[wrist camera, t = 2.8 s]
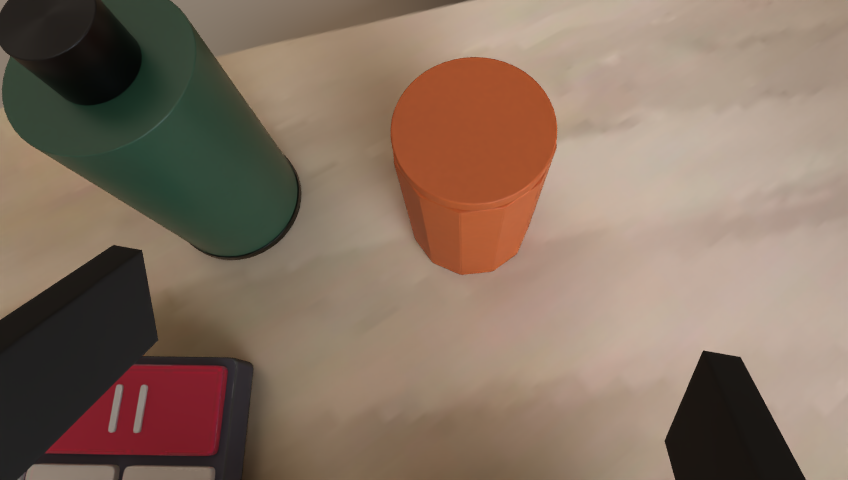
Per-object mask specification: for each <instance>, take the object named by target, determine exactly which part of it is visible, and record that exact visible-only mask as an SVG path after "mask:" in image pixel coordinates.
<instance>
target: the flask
mask: <svg viewBox="0 0 848 480" xmlns="http://www.w3.org/2000/svg"><path fill="white" fill-rule="evenodd" d="M0 46H1V47H2V48H3V50H4V51H5V52H6V53H7V54H9V55H10V59H9V61H8V64H7V67H6V70H5V73H4V78H3V85H2V99H3V105H4V110H5V113H6V115H7V118H8V120H9V122H10V123H11V125H12V127H13V128H14V130H15V131H16V132H17V133H18V134H19V136H20V137H21V138H22V139H24V140H25V141H26V142H27V143H29V144H30V145H31V146H33V147H35V148H36V149H38V150H40V151H41V152H43V153H44V154H46V155H48V156H49V157H51V158H53V159H54V160H56V161H57V162H59V163H61V164H62V165H64V166H66V167H67V168H69V169H70V170H72V171H74V172H75V173H77V174H79V175H80V176H82V177H84V178H85V179H87V180H88V181H90V182H92V183H93V184H95V185H97V186H98V187H100V188H101V189H103V190H105V191H106V192H108V193H110V194H111V195H113V196H114V197H116V198H118V199H119V200H121V201H123V202H124V203H126V204H127V205H129V206H131V207H132V208H134V209H136V210H137V211H139V212H140V213H142V214H144V215H145V216H147V217H149V218H150V219H152V220H153V221H155V222H157V223H158V224H160V225H162V226H163V227H165V228H166V229H168V230H170V231H171V232H173V233H175V234H176V235H178V236H179V237H181V238H183V239H184V240H186V241H188V242H189V243H190V244H191V245H192V246H194V247H195V248H196V249H198V250H199V251H201V252H203V253H205V254H206V255H209V256H211V257H214V258H218V259H223V260H240V259H246V258H250V257H253V256H256V255H258V254H260V253H263V252H264V251H266V250H268V249H270V248H271V247H272V246H274V245H275V244H276V243H278V242H279V241H280V240H281V239H282V238H283V237H284V236H285V234H286V233H287V232H288V231H289V229H290V228H291V226H292V225H293V223H294V221H295V219H296V217H297V214H298V211H299V208H300V202H301V185H300V181H299V177H298V175H297V172H296V170H295V169H294V167H293V165H292V164H291V162H290V161H289V160H288V159H287V158H286V156H285V155H283V154H282V152H281V151H280V149H279V148H278V147H277V145H276V144H275V142H274V141H273V139H272V138H271V137H270V135H269V134H268V132H267V131H266V129H265V128H264V127H263V125H262V124H261V122H260V121H259V119H258V118H257V117H256V115H255V114H254V112H253V111H252V109H251V108H250V107H249V105H248V104H247V102H246V101H245V100H244V98H243V97H242V95H241V94H240V92H239V91H238V90H237V88H236V87H235V85H234V84H233V82H232V81H231V80H230V78H229V77H228V75H227V74H226V72H225V71H224V70H223V68H222V67H221V65H220V64H219V62H218V61H217V60H216V58H215V57H214V55H213V54H212V53H211V52H210V50H209V48H208V47H207V45H206V44H205V43H204V41H203V40H202V38H201V37H200V35H199V34H198V33H197V31H196V30H195V28H194V27H193V25H192V24H191V23H190V21H189V20H188V18H187V17H186V16H185V14H184V13H183V12H182V11H181V10H180V8H178V7H177V6H176V5H175V4H174V3H173V2H171V1H170V0H8V1H7V3H6V4H5V5H4V7H3V8H2V10H1V12H0Z"/></svg>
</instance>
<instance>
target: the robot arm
mask: <svg viewBox="0 0 848 480" xmlns="http://www.w3.org/2000/svg"><path fill="white" fill-rule="evenodd" d="M157 341H158V336H157V330H156V325H155V319H154V314H153V308H152V303H151V297H150V292H149V286H148V281H147V275H146V269H145V264H144V258H143V253H142V250H138V249H132V248H127V247H121V246H116V245H113V246H111V247H110V248H108V249H107V250H105V251H104V252H102V253H101V254H99V255H98V256H96V257H95V258H93V259H92V260H90V261H89V262H87V263H86V264H84V265H83V266H81V267H80V268H78V269H77V270H75V271H74V272H72V273H70V274H69V275H67V276H66V277H64V278H63V279H61V280H60V281H58V282H57V283H55V284H54V285H52V286H51V287H49V288H48V289H46V290H45V291H43V292H42V293H40V294H39V295H37V296H36V297H34V298H33V299H31V300H30V301H28V302H27V303H25V304H24V305H22V306H21V307H19V308H18V309H16V310H15V311H13V312H12V313H10V314H9V315H7V316H6V317H4V318H3V319H1V320H0V480H18V479H19V478H20V477H21V476H22V475H23V474H24V473H25V472H26V471H27V470H28V469H29V468H30V467H31V466H32V465H33V464H34V463H35V462H36V461H37V460H38V459H39V458H40V457H41V456H42V455H43V454H44V453H45V452H46V451H47V450H48V449H49V448H50V447H51V446H52V445H53V444H54V443H55V442H56V441H57V440H58V439H59V438H60V437H61V436H62V435H63V434H64V433H65V432H66V431H67V430H68V429H69V428H70V427H71V426H72V425H73V424H74V423H75V422H76V421H77V420H78V419H79V418H80V417H81V416H82V415H83V414H84V413H85V412H86V411H87V410H88V409H89V408H90V407H91V406H92V405H93V404H94V403H95V402H96V401H97V400H98V399H99V398H100V397H101V396H102V395H103V394H104V393H105V392H106V391H107V390H108V389H109V388H110V387H111V386H112V385H113V384H114V383H115V382H116V381H117V380H118V379H119V378H120V377H121V376H122V375H123V374H124V373H125V372H126V371H127V370H128V369H129V368H130V367H131V366H133V365H134V364H135V363H136V362H137V361H138V360H139V359H140V358H141V357H142V356H143V355H144V354H145V353H146V352H147V351H148V350H149V349H150V348H151V347H152V346H153V345H154V344H155V343H156V342H157ZM665 444H666V448H667V451H668V455H669V458H670V462H671V466H672V469H673V473H674V476H675V480H806V479H805V477H804V475H803V474H802V472H801V470H800V468H799V466H798V464H797V462H796V460H795V459H794V457H793V455H792V453H791V451H790V449H789V447H788V445H787V444H786V442H785V440H784V438H783V436H782V434H781V432H780V430H779V429H778V427H777V425H776V423H775V421H774V419H773V417H772V415H771V413H770V412H769V410H768V408H767V406H766V404H765V402H764V400H763V398H762V397H761V395H760V393H759V391H758V389H757V387H756V385H755V383H754V382H753V380H752V378H751V376H750V374H749V372H748V370H747V368H746V367H745V365H744V363H743V361H742V359H741V357H736V356H731V355H725V354H720V353H714V352H708V351H703V352H702V354H701V357H700V359H699V361H698V364H697V366H696V368H695V371H694V373H693V375H692V378H691V380H690V382H689V385H688V387H687V390H686V392H685V394H684V397H683V399H682V401H681V404H680V406H679V408H678V411H677V413H676V415H675V418H674V420H673V422H672V425H671V427H670V429H669V432H668V434H667V436H666V439H665Z"/></svg>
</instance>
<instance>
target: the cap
mask: <svg viewBox="0 0 848 480" xmlns="http://www.w3.org/2000/svg"><path fill="white" fill-rule="evenodd" d="M556 140H557V122H556V116H555V113H554V109H553V107H552V104H551V102H550V100H549V98H548V96H547V95H546V93H545V91H544V90H543V89H542V88H541V86H540V85H539V84H538V83H537V82H536V81H535V80H534V79H533V78H532V77H531V76H529V75H528V74H526V73H525V72H524V71H522V70H520V69H519V68H517V67H515V66H513V65H510V64H508V63H505V62H502V61H499V60H495V59H489V58H480V57H470V58H460V59H454V60H451V61H447V62H444V63H441V64H439V65H437V66H434V67H433V68H431V69H429V70H427V71H425V72H424V73H423V74H421V75H420V76H419V77H417V78H416V79H415V80H414V81H413V82H412V83H411V84H410V85H409V86H408V88H407V89H406V90H405V91H404V93H403V94H402V96H401V97H400V99H399V101H398V103H397V105H396V107H395V110H394V113H393V117H392V122H391V143H392V148H393V154H394V165H395V168H396V172H397V175H398V179H399V183H400V186H401V190H402V193H403V197H404V201H405V204H406V208H407V211H408V215H409V219H410V222H411V226H412V229H413V233H414V236H415V239H416V241H417V242H418V244H419V245H420V246H421V248H422V249H423V250H424V252H425V253H426V254H427V256H428V257H429V258H430V260H431V261H432V262H433V263H435V264H437V265H439V266H442V267H444V268H446V269H449V270H451V271H453V272H456V273H458V274H461V275H463V274H473V273H483V272H491V271H494V270H495V269H496V268H498V267H499V266H501V265H502V264H503V263H505V262H506V261H508V260H509V259H510V258H512V257H513V256H515V255H516V254H517V252H518V250H519V248H520V245H521V243H522V241H523V238H524V236H525V234H526V231H527V229H528V227H529V224H530V221H531V218H532V215H533V213H534V210H535V207H536V204H537V201H538V198H539V196H540V193H541V190H542V187H543V184H544V181H545V179H546V176H547V173H548V170H549V167H550V165H551V162H552V159H553V156H554V153H555V150H556V148H557V147H556V146H557V145H556Z"/></svg>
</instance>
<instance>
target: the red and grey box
mask: <svg viewBox="0 0 848 480" xmlns="http://www.w3.org/2000/svg"><path fill="white" fill-rule="evenodd" d="M252 377H253V365H252V364H251V363H250V362H247V361H243V360H239V359H236V358H230V357H154V356H142V357H141V358H140V359H139V360H138V361H137V362H136V363H135V364H134V365H133V366H131V367H130V368H129V369H128V370H127V371H126V372H125V373H124V374H123V375H122V376H121V377H120V378H119V379H118V380H117V381H116V382H115V383H114V384H113V385H112V386H111V387H110V388H109V389H108V390H107V391H106V392H105V393H104V394H103V395H102V396H101V397H100V398H99V399H98V400H97V401H96V402H95V403H94V404H93V405H92V406H91V407H90V408H89V409H88V410H87V411H86V412H85V413H84V414H83V415H82V416H81V417H80V418H79V419H78V420H77V421H76V422H75V423H74V424H73V425H72V426H71V427H70V428H69V429H68V430H67V431H66V432H65V433H64V434H63V435H62V436H61V437H60V438H59V439H58V440H57V441H56V442H55V443H54V444H53V445H52V446H51V447H50V448H49V449H48V450H47V451H46V452H45V453H44V454H43V455H42V456H41V457H40V458H39V459H38V460H37V461H36V462H35V463H34V464H33V465H32V466H31V467H30V468H29V469H28V470H27V471H26V472H25V473H24V474H23V475H22V476H21V477H20V478H19V479H18V480H241V478H242V469H243V460H244V451H245V442H246V432H247V423H248V414H249V405H250V395H251V386H252Z"/></svg>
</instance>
